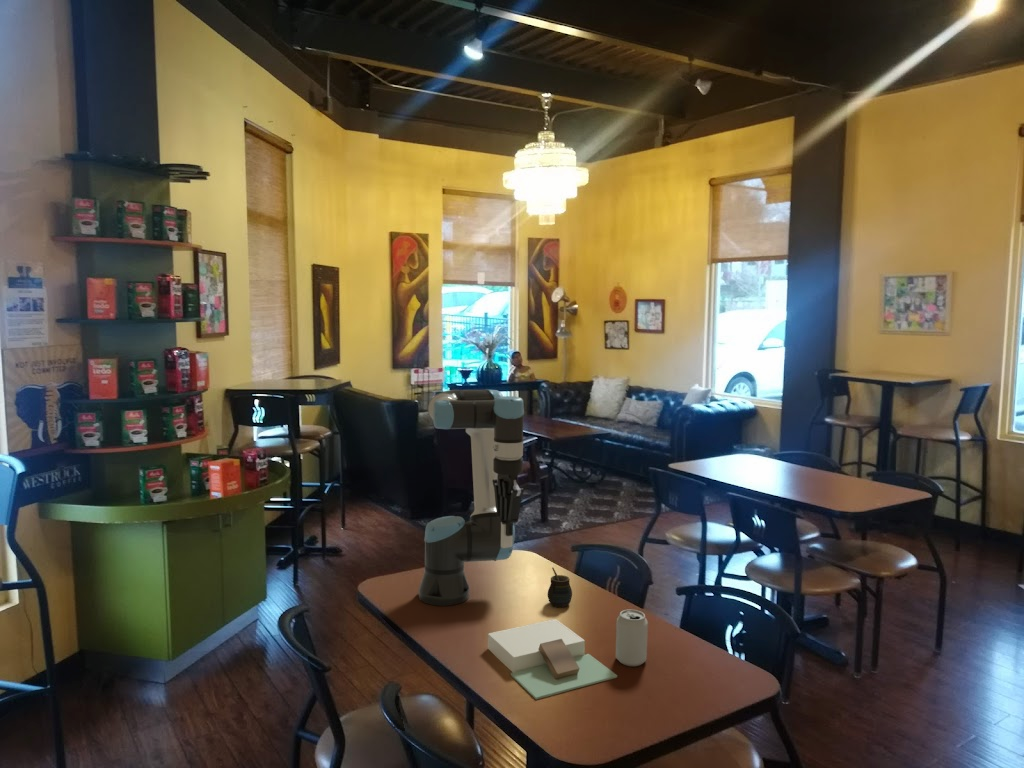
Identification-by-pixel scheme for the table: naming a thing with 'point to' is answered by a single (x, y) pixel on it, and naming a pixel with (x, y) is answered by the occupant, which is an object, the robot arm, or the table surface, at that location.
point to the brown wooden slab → (558, 659)
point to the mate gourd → (559, 590)
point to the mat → (544, 683)
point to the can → (631, 637)
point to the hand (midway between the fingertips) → (506, 546)
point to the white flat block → (531, 643)
